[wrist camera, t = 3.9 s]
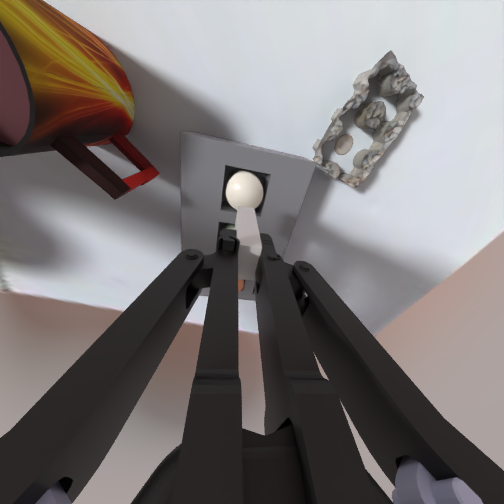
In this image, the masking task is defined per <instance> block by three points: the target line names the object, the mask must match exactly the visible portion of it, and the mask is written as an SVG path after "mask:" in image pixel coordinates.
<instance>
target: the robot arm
mask: <svg viewBox="0 0 504 504" xmlns="http://www.w3.org/2000/svg"><path fill="white" fill-rule="evenodd" d="M254 278H256V281H255V284H254V288H253V292H252V294H254V292H255V299H256V309H257V320H258V330H259V340H260V350H261V359H262V360H261V361H262V371H263V381H264V392H265V403H266V409H265V418H264V419H265V420H264V427H265V435H261V434H257V433H255V432H252V431H249V430H246V429H243V428H242V400H241V399H242V398H241V397H242V396H241V381H240V378H239V372H238V279H241V280H252V281H254ZM208 287H210V292H209V297H208V303H207V309H206V315H205V321H204V326H203V333H202V338H201V344H200V350H199V355H198V361H197V367H196V373H195V377H194V380H193V384H192V389H191V394H190V399H189V405H188V411H187V417H186V422H185V428H184V433H183V439H182V443H181V444H180V445H179V446H178V447H176V448H175V449H174V450H173V451H172V452H171V453H170V454H169V455H167V456H166V458H165V459H164V460H163V461H162V462H161V463H160V464H159V466H158V467H157V468H156V469H155V471H154V472H153V474H152V475H151V476H150V478H149V479H148V481H147V482H146V483H145V485H144V486H143V488H142V489H141V490H140V491H139V493H138V494H137V496H136V497H135V498H134V500H133V501H132V503H131V504H504V471H503V470H502V469H501V468H500V467H499V466H498V465H497V464H495V463H494V462H493V461H492V460H491V459H490V458H489V457H487V456H486V455H485V454H484V453H483V452H482V451H481V450H479V449H478V448H477V447H476V446H475V445H474V444H473V443H472V442H470V441H469V440H468V439H467V438H466V437H465V436H464V435H462V434H461V433H460V432H459V431H458V430H457V429H456V428H455V427H453V426H452V425H451V424H450V423H449V422H448V421H447V420H445V419H444V418H443V416H442V415H441V414H440V413H439V412H438V411H437V409H436V408H435V407H434V406H433V405H432V404H431V403H430V401H429V400H428V399H427V398H426V397H425V396H424V395H423V393H422V392H421V391H420V390H419V389H418V387H417V386H416V385H415V384H414V383H413V382H412V381H411V379H410V378H409V377H408V376H407V375H406V374H405V373H404V371H403V370H402V369H401V368H400V367H399V365H398V364H397V363H396V362H395V361H394V360H393V359H392V357H391V356H390V355H389V354H388V353H387V352H386V350H385V349H384V348H383V347H382V346H381V345H380V344H379V342H378V341H377V340H376V339H375V338H374V337H373V335H372V334H371V333H370V332H369V331H368V330H367V328H366V327H365V326H364V325H363V324H362V323H361V321H360V320H359V319H358V318H357V317H356V316H355V315H354V313H353V312H352V311H351V310H350V309H349V308H348V306H347V305H346V304H345V303H344V302H343V301H342V299H341V298H340V297H339V296H338V295H337V294H336V293H335V291H334V290H333V289H332V288H331V287H330V286H329V284H328V283H327V282H326V281H325V280H324V279H323V277H322V276H321V275H320V274H319V273H318V272H317V271H316V269H315V268H314V267H313V266H312V265H311V264H309V263H307V262H304V261H297V262H295V264H294V265H290V264H287V263H285V262H283V259H282V257H281V256H280V255H279V254H277V253H276V250H275V247H274V244H273V240H272V237H271V236H270V235H269V234H264V233H259V229H258V224H257V219H256V214H255V209H254V208H249V207H242V206H238V209H237V215H236V222H235V229H234V230H232V229H222V230H221V231H220V237H219V238H218V241H217V251H216V252H215V253H213V254H209V255H203V253H202V252H201V251H199V250H197V249H187V250H184V251H182V252H181V253H180V254H179V255H178V256H177V257H176V258H175V259H174V260H173V261H172V262H171V263H170V264H169V265H168V266H167V267H166V268H165V269H164V270H163V271H162V272H161V274H160V275H159V276H158V277H157V278H156V279H155V280H154V281H153V282H152V283H151V284H150V285H149V286H148V287H147V288H146V289H145V290H144V291H143V292H142V293H141V294H140V295H139V296H138V298H137V299H136V300H135V301H134V302H133V303H132V304H131V305H130V306H129V307H128V308H127V309H126V310H125V311H124V312H123V313H122V314H121V315H120V316H119V317H118V318H117V319H116V320H115V322H114V323H113V324H112V325H111V326H110V327H109V328H108V329H107V330H106V331H105V332H104V333H103V334H102V335H101V336H100V337H99V338H98V339H97V340H96V341H95V342H94V343H93V344H92V345H91V347H90V348H89V349H88V350H87V351H86V352H85V353H84V354H83V355H82V356H81V357H80V358H79V359H78V360H77V361H76V362H75V363H74V364H73V365H72V366H71V367H70V368H69V369H68V370H67V372H66V373H65V374H64V375H63V376H62V377H61V378H60V379H59V380H58V381H57V382H56V383H55V384H54V385H53V386H52V387H51V388H50V389H49V390H48V391H47V393H46V394H44V396H43V397H42V398H41V399H40V400H39V401H38V402H37V403H36V404H35V405H34V406H33V407H32V408H31V409H30V410H29V411H28V412H27V413H26V414H25V415H24V416H23V417H22V418H21V420H20V421H19V422H18V423H17V424H16V425H15V426H14V427H13V428H12V429H11V430H10V431H9V432H7V433H6V434H5V435H4V436H2V437H1V438H0V504H72V503H73V502H74V500H75V499H76V497H78V495H79V494H80V493H81V491H82V490H83V488H84V487H85V486H86V484H87V483H88V481H89V480H90V479H91V477H92V476H93V474H94V473H95V472H96V470H97V469H98V467H99V466H100V464H101V463H102V461H103V459H104V458H105V456H106V455H107V453H108V451H109V450H110V448H111V446H112V445H113V443H114V442H115V440H116V438H117V436H118V435H119V433H120V431H121V430H122V428H123V426H124V424H125V422H126V421H127V419H128V417H129V416H130V414H131V412H132V410H133V409H134V407H135V405H136V403H137V402H138V400H139V398H140V397H141V395H142V393H143V391H144V390H145V388H146V386H147V384H148V383H149V381H150V379H151V378H152V376H153V374H154V372H155V371H156V369H157V367H158V365H159V364H160V362H161V360H162V359H163V357H164V355H165V353H166V352H167V350H168V348H169V346H170V345H171V343H172V341H173V340H174V338H175V336H176V334H177V333H178V331H179V329H180V327H181V326H182V324H183V322H184V320H185V319H186V317H187V315H188V314H189V312H190V310H191V308H192V307H193V305H194V303H195V301H196V300H197V298H198V296H199V294H200V293H201V291H202V288H208ZM305 292H306V293H307V295H308V297H306V296H305V294H304V293H305ZM313 352H314V353H313ZM314 354H315V355H316V357H317V359H318V361H319V363H320V364H321V366H322V368H323V370H324V372H325V373H326V375H327V377H328V379H329V380H327V379H325V378H323V376H322V375H321V373H320V371H319V368H318V365H317V362H316V359H315V356H314ZM340 401H341V402H342V404H343V406H344V407H345V410H346V411H347V413H348V415H349V417H350V419H351V420H352V422H353V424H354V426H355V428H356V429H357V431H358V433H359V435H360V436H361V438H362V440H363V441H364V443H365V445H366V446H367V448H368V450H369V452H370V453H371V455H372V456H373V457H374V459H375V460H376V462H377V463H378V465H379V466H380V468H381V469H382V471H383V472H384V473H385V475H386V476H387V477H388V478H389V480H390V481H391V482H392V484H393V485H394V486H395V488H396V489H394V490H393V492H392V499H393V502H392V501H391V500H390V498H389V497H388V496H387V495H386V494H385V492H384V491H383V490H382V489H381V487H380V486H379V485H378V484H377V482H376V481H375V480H374V479H373V478H372V476H371V475H370V474H369V473H368V472H367V470H366V469H365V467H364V464H363V462H362V459H361V456H360V453H359V451H358V448H357V445H356V443H355V440H354V437H353V434H352V432H351V429H350V426H349V424H348V421H347V418H346V416H345V413H344V411H343V408H342V405H341V402H340Z"/></svg>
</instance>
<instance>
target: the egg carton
mask: <svg viewBox="0 0 504 504" xmlns="http://www.w3.org/2000/svg"><path fill="white" fill-rule="evenodd" d="M378 73H379V75H380V77H379V78H380V79H379V83H378V93H379V95H380V96H382V97H386V96H390V95H394V94H399V95H400V97H399V99H398V101H397V104H396V111H397V114H396V116H395V117H394V119H393V120H392V121H387V122H382V120H383V119H384V117H385V113H386V107H385V105H384V102H382V101H378V102H373V103H368V104H365V105H362V106H361V107H360V108H359V109H358V110H357V112H356V115H355V124H356V126H357V127H359V128H373V129H375V131H374V133H373V140H374V142H373V143H372V145H371V147H370V148H369V150H367V149H363V150H361V151H359V152H357V154H356V155H355V156H354V159H353V165H354V168H353V170H352V171H351V172H350V173H349V174H342V175H340V167H339V165H338V164H337V163H334V162H331V161H324V162H322V160H323V155H322V152H321V148H322V145H323V144H324V143H325V142H326V141H333V140H334V139H336V138H337V136H338V135H339V133H340V132H341V131H342V130H343V122H342V121H341V120H340V119H339V117H340V116H342V115H344V114H345V112H346V111H347V110H349V109H356V108H358V107H359V105H360V104H361V103H363V102H364V101H365V100H366V98H367V95H368V92H369V89H368V87H369V86H370V85H369V83H368V79H370V78H372V77H375V76H376V75H377V74H378ZM353 87H354V90H355V91H354V95H353V96H352V97H351V99H350V100H349V101H348V102H347V103H346V104H345V106H344V107H343V108H341V109H337V110H336V111H335V112H334V114H333V115H332V117H331V120H332V123H331V124H330V126H329V127H328V129H327V131H326V133H325V135H324V137H323V138H322V140H319V139H317V140H316V142H315V143H314V145H313V147H312V148H313V149H314V150H315V157H314V158H313V160H314V162H315V163H317V164H318V165H320V166H321V167H322V168H324V169H325V170H328V171H329V172H328V174H329V175H330V176H332V177H333V178H334V179H336V178H337V179H340V180H342V181H344V182H346V183H347V184H348V185H350V186H351V187H353V188H355V187H358V186H359V184H360V183H361V182H363V181H364V180H365V178H366V177H367V176H368V175H369V174H370V172H371V171H372V169H373V168H374V167H375V166H374V164H375V162H376V161H377V160H378V159H379V158H380V157H381V156H382V155H383V154H384V151H385V150H386V149H387V148H388V146H389V145H390V144H391V142H393V141H394V140H395V139H396V138H397V136H398V135H399V133H400V132H401V130H402V128H403V127H404V125H405V123H406V121H407V120H408V119H409V117H410V115H411V112H412V110H413V109H414V108H416V107H418V106H419V104H420V103H421V102H422V99H423V98H424V96H423V95H422V94H419V93H418V92H417V90H416V87H417V85H416V84H415V83H414V82H412V81H411V79H410V75H409V74H408V73H407V72H406V70H405V68H404V66H403V65H401V64H399V63H398V62H397V59H396V56H395V55H394V54H393V52H392V51H389V52H388V53H387V54H386V55H385V56H384V57H383V58H382V59H381V60H380V61H379V62H378V63H377V64H376V65H375V66H374V67H373V68H372V69H371V70H368V71H366V72H364V73H361V74H360V75H358V77H357V78H356V80H355V81H354V83H353ZM345 110H346V111H345ZM381 122H382V123H381ZM352 144H353V140H352V137H351V136H350V135H343V136H341V137H340V138H339V139H338V140H337V141H336V144H335V152H336V153H337V154H339V155H344V154H346V153H347V152H348V151H349V150H350V149H351V147H352ZM339 175H340V176H339Z"/></svg>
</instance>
